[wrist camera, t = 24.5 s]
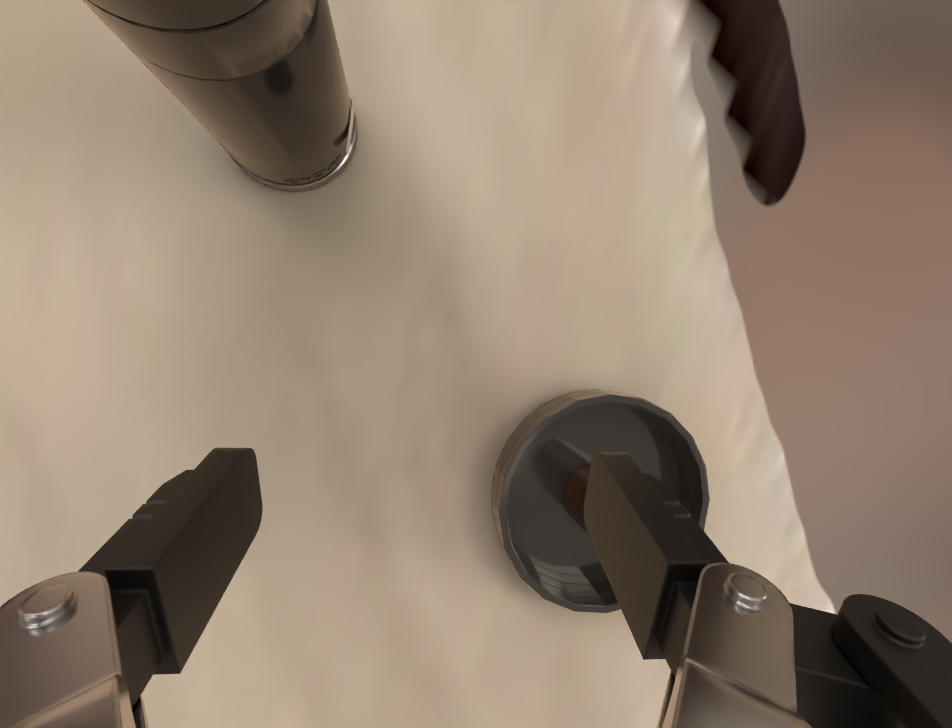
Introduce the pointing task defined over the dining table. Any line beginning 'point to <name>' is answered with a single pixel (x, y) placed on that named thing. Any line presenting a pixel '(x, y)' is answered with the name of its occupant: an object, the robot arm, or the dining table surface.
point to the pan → (555, 458)
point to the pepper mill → (576, 494)
